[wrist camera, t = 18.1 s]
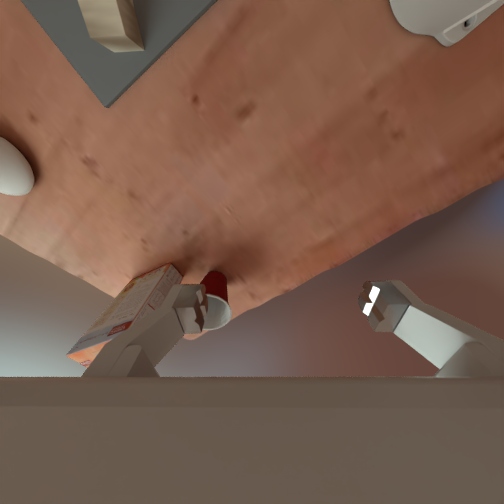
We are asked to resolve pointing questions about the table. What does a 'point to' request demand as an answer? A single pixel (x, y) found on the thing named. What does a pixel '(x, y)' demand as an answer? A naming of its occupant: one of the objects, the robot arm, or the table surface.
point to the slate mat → (104, 60)
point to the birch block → (112, 24)
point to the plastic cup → (216, 301)
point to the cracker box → (126, 311)
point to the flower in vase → (14, 170)
